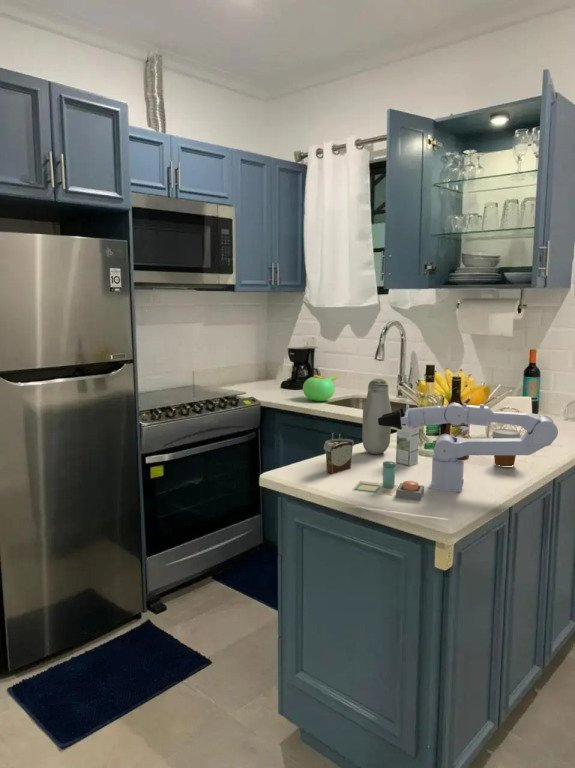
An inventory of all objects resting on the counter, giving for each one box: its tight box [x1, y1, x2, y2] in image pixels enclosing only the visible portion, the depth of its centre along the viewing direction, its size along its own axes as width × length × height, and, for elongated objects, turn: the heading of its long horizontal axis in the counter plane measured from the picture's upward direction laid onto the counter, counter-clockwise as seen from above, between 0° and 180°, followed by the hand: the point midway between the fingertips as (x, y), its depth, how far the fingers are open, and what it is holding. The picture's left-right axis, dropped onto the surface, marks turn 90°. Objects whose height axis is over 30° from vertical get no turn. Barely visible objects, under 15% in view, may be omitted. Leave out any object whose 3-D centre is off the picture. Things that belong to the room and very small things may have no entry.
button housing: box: [395, 482, 425, 502], centre depth 174 cm, size 7×7×3 cm
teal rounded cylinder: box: [382, 460, 397, 489], centre depth 181 cm, size 4×4×8 cm
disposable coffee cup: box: [491, 428, 522, 466], centre depth 207 cm, size 10×10×12 cm
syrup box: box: [395, 424, 420, 467], centre depth 208 cm, size 6×6×14 cm
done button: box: [402, 480, 419, 492], centre depth 174 cm, size 4×4×2 cm
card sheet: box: [352, 480, 399, 496], centre depth 181 cm, size 12×10×1 cm
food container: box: [323, 438, 355, 475], centre depth 199 cm, size 12×6×10 cm, turn 134°
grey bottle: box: [361, 378, 393, 455], centre depth 220 cm, size 10×10×28 cm
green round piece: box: [302, 374, 339, 402], centre depth 330 cm, size 18×17×15 cm
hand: (380, 420), depth 186 cm, fingers open, 7 cm apart
